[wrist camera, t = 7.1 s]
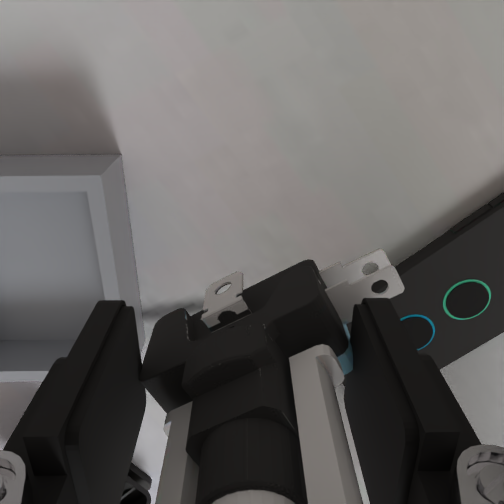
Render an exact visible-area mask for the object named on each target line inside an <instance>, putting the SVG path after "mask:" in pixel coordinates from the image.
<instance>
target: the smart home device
mask: <svg viewBox="0 0 504 504" xmlns="http://www.w3.org/2000/svg"><path fill="white" fill-rule="evenodd" d="M395 269H396V271H397V273H398V275H399V277H400V279H401V281H402V283H403V285H404V288H405V289H404V291H403V293H401V294H398V295H396V296H394V297H392V298H390V299H389V300H390V301H391V303H392V305H393V307H394V309H395V310H396V312H397V314H398V316H399V318H400V320H401V322H402V324H403V326H404V327H405V329H406V331H407V333H408V335H409V337H410V339H411V341H412V342H413V344H414V346H415V348H416V350H417V352H418V354H428V355H430V356H431V357H432V359H433V360H434V362H435V363H436V365H437V367H438V369H439V370H440V369H441V368H443V367H445V366H447V365H448V364H450V363H452V362H453V361H455V360H457V359H458V358H460V357H462V356H464V355H465V354H467V353H469V352H470V351H472V350H474V349H475V348H477V347H479V346H481V345H482V344H484V343H486V342H487V341H489V340H491V339H492V338H494V337H496V336H498V335H499V334H501V333H503V332H504V193H503V194H501V195H500V196H498V197H497V198H495V199H494V200H492V201H491V202H490V203H489V204H487V205H485V206H484V207H482V208H481V209H479V210H478V211H476V212H475V213H473V214H472V215H470V216H469V217H467V218H466V219H464V220H463V221H461V222H460V223H459V224H457V225H456V226H454V227H453V228H451V229H450V230H449V231H448V232H446V233H445V234H443V235H442V236H440V237H439V238H437V239H436V240H434V241H433V242H431V243H430V244H429V245H427V246H426V247H424V248H423V249H421V250H420V251H418V252H417V253H415V254H414V255H412V256H411V257H409V258H408V259H406V260H405V261H403V262H402V263H401V264H399V265H398V266H396V267H395ZM387 287H388V283H387V282H386V281H385V280H379V281H376V282H374V283H373V284H372V286H371V290H372V291H373V292H374V293H383V292H384V291H385V290H386V289H387ZM351 325H352V322H349V323H347V324H346V326H347V329H348V331H349V334H351ZM345 381H346V374H345V375H344V380H343V383H342V384H343V385H344V386H345Z"/></svg>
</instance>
